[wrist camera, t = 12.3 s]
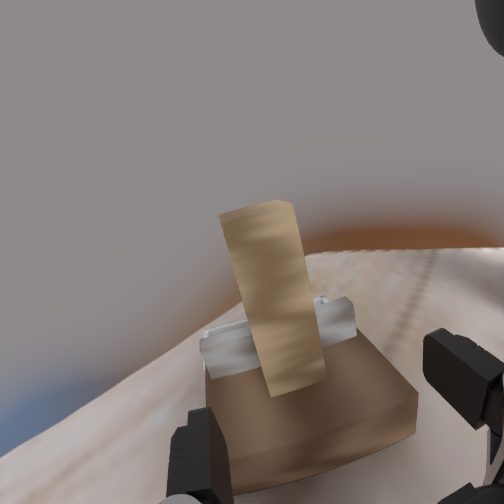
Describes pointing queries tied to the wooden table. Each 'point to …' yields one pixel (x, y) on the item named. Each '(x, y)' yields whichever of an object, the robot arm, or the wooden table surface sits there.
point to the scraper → (275, 304)
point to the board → (312, 417)
